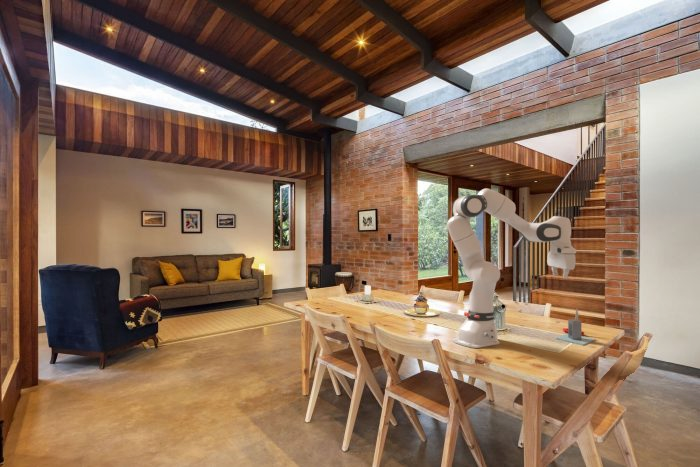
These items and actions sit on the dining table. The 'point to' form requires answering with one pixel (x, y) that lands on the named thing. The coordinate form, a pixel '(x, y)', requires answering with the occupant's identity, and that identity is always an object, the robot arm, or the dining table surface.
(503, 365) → the dining table surface
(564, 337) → the pad
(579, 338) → the link block
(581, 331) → the tow hook
